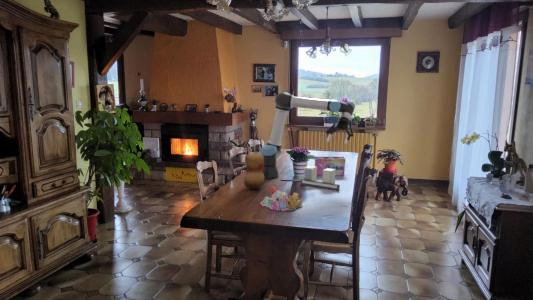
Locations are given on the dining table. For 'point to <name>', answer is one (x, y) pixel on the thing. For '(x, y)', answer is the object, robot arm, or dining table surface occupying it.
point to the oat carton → (310, 173)
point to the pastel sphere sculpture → (281, 201)
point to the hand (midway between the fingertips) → (336, 142)
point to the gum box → (330, 164)
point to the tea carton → (329, 175)
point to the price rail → (320, 184)
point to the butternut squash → (254, 170)
